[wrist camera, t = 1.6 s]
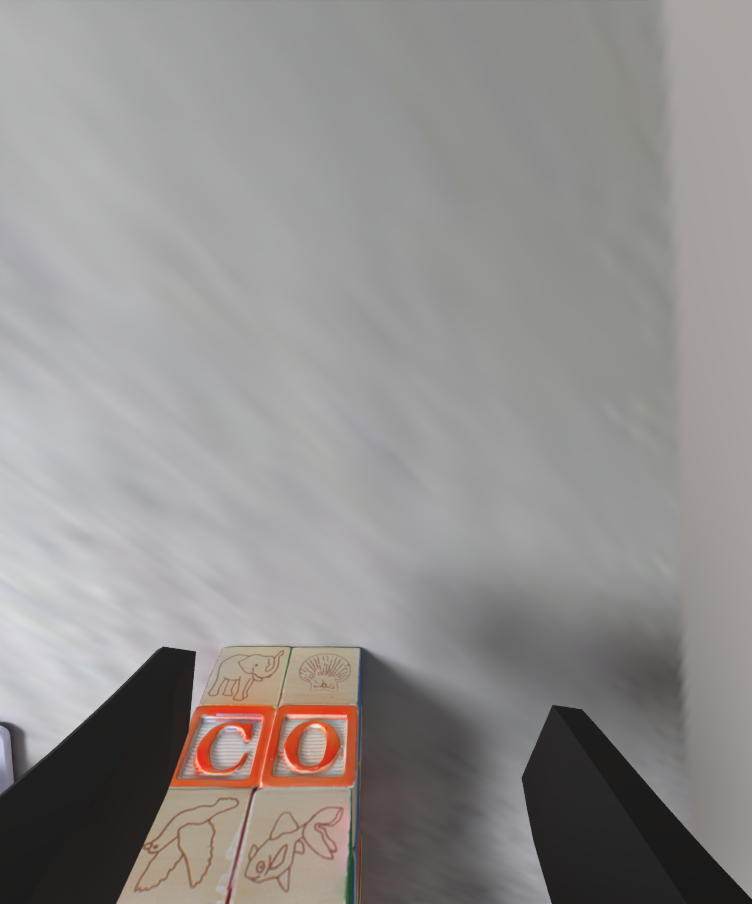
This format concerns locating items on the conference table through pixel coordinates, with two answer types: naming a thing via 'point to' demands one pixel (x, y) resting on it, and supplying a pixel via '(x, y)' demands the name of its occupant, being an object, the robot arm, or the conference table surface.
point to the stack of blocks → (263, 787)
